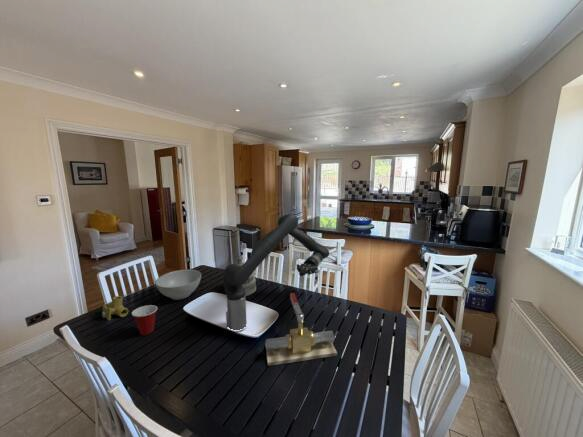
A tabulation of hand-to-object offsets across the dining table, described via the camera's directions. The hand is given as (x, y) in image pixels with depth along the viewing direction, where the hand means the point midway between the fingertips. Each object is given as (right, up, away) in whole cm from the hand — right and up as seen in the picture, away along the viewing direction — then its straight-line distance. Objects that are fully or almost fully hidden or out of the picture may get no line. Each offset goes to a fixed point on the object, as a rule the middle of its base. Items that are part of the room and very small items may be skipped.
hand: (301, 274), depth 118 cm
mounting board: (-1, -31, -14) cm, 33 cm away
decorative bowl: (-77, -22, +34) cm, 88 cm away
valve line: (-1, -29, -14) cm, 32 cm away
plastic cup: (-77, -28, -1) cm, 82 cm away
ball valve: (-104, -26, +12) cm, 108 cm away
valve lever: (-3, -15, -8) cm, 17 cm away
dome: (-39, -21, +41) cm, 60 cm away
